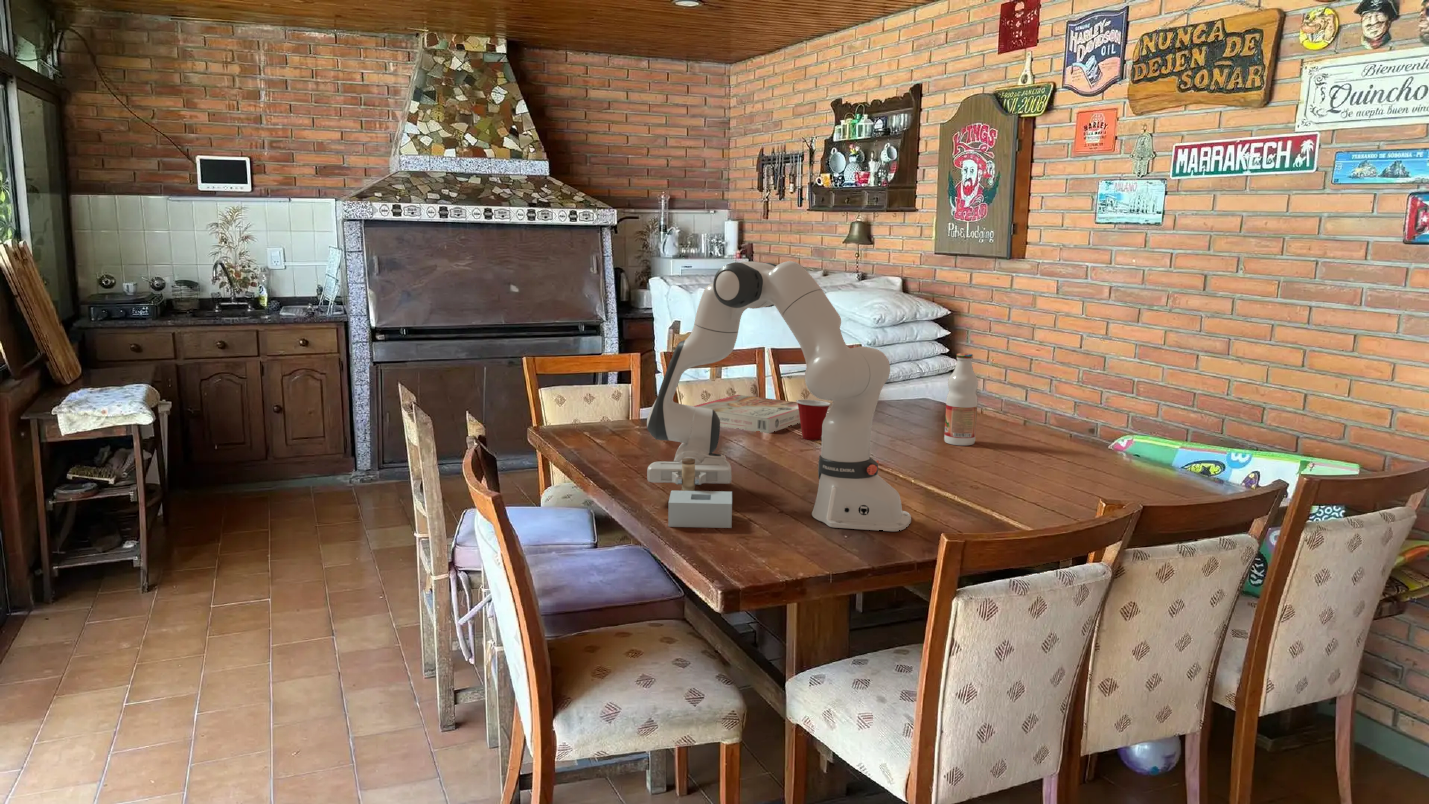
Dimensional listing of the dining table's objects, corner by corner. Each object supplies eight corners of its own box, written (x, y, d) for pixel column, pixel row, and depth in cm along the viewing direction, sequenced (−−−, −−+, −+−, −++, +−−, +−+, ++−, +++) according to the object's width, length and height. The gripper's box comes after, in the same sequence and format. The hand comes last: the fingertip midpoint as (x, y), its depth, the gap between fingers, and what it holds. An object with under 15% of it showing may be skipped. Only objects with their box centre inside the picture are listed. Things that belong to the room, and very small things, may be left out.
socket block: (731, 514, 223) (731, 491, 222) (731, 527, 213) (731, 503, 212) (671, 513, 223) (671, 490, 222) (668, 526, 213) (668, 502, 212)
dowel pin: (696, 508, 228) (697, 458, 226) (691, 511, 225) (692, 461, 223) (684, 506, 229) (685, 457, 227) (679, 510, 226) (679, 460, 224)
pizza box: (737, 394, 354) (815, 404, 337) (737, 409, 355) (814, 419, 338) (687, 407, 328) (769, 418, 311) (687, 422, 329) (769, 434, 312)
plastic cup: (836, 439, 304) (838, 402, 302) (810, 443, 298) (811, 405, 296) (814, 433, 313) (815, 396, 311) (788, 436, 307) (789, 399, 305)
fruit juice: (962, 447, 296) (968, 356, 291) (937, 441, 303) (942, 353, 298) (981, 443, 301) (986, 354, 296) (956, 438, 309) (961, 351, 304)
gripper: (648, 453, 238) (643, 467, 224) (731, 455, 238) (731, 468, 224) (648, 478, 239) (643, 493, 225) (731, 479, 239) (731, 495, 225)
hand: (688, 481), depth 225 cm, fingers open, 3 cm apart
